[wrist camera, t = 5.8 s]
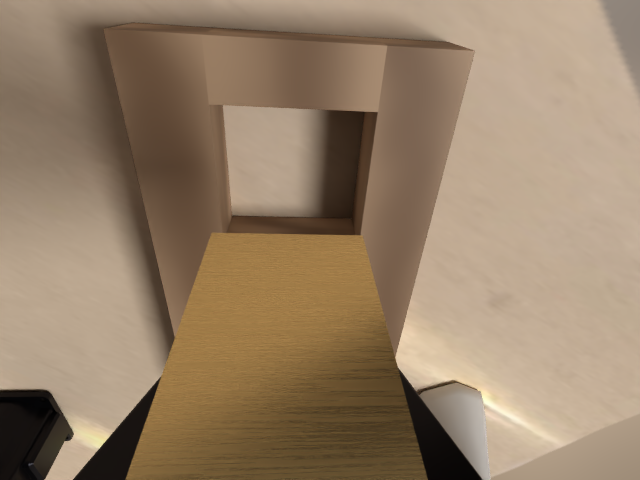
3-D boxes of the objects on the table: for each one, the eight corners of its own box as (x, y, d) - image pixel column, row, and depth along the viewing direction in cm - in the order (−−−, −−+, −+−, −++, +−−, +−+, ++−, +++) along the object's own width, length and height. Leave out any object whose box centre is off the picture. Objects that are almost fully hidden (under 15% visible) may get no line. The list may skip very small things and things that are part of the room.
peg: (225, 336, 12) (135, 768, 5) (211, 232, 10) (28, 754, 3) (348, 336, 12) (408, 745, 6) (362, 235, 10) (490, 716, 3)
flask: (388, 405, 33) (418, 543, 25) (460, 370, 31) (520, 509, 23) (428, 435, 37) (467, 566, 28) (496, 406, 34) (560, 538, 26)
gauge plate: (200, 374, 29) (180, 452, 24) (133, 22, 16) (59, 37, 11) (375, 372, 30) (390, 447, 25) (448, 42, 17) (512, 63, 12)
